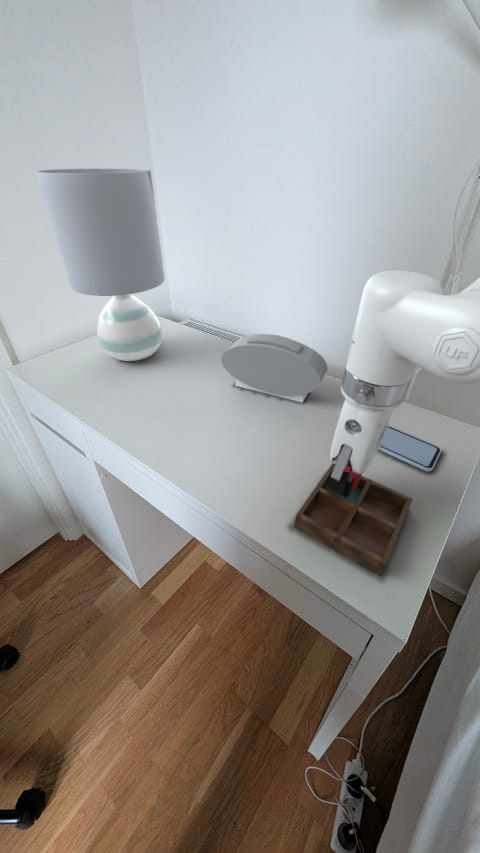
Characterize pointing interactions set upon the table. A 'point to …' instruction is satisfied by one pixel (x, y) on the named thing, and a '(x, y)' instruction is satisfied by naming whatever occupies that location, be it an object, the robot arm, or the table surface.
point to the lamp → (110, 249)
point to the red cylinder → (357, 478)
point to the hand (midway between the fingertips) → (344, 482)
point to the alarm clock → (275, 366)
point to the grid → (355, 520)
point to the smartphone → (410, 449)
